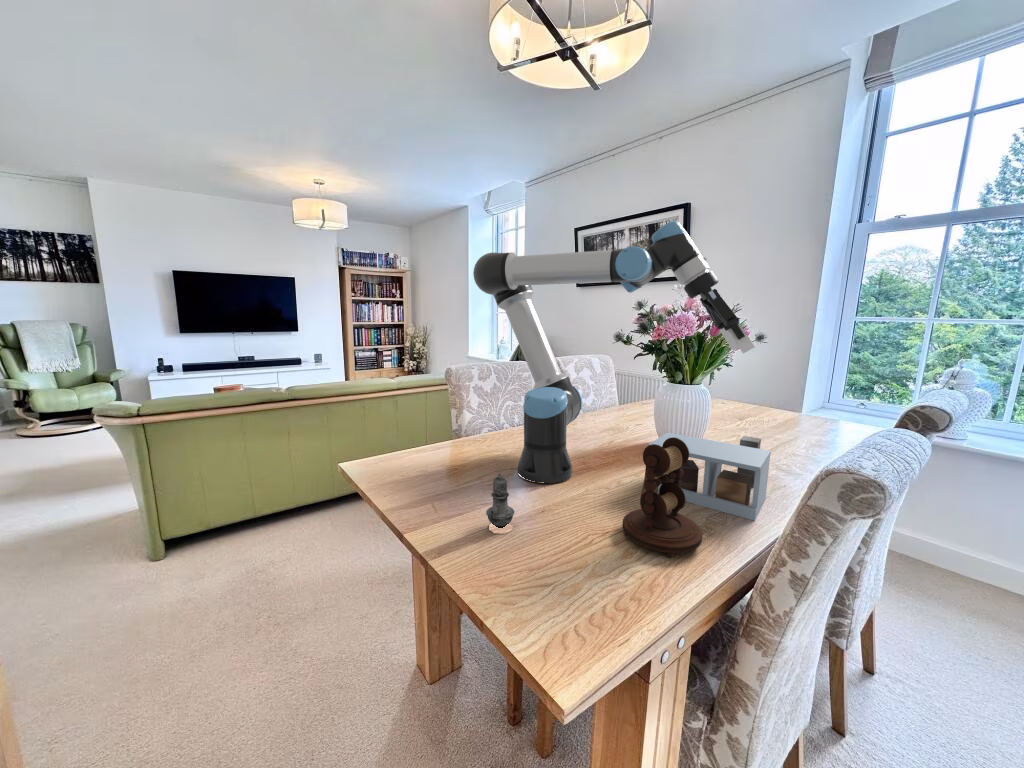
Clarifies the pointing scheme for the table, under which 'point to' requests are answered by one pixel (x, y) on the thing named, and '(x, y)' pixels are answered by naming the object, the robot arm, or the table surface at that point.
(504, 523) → the salt shaker
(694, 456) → the shelf
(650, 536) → the thread spool stand
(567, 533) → the table surface
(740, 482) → the walnut block
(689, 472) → the box
